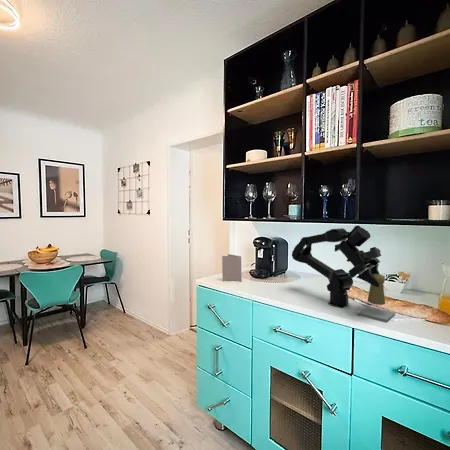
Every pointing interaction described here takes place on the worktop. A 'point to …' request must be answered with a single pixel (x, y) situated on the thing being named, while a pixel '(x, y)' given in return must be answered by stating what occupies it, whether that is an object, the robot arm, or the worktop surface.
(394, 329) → the worktop surface
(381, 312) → the plate
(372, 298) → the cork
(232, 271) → the greeting card
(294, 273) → the worktop surface
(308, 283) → the worktop surface
